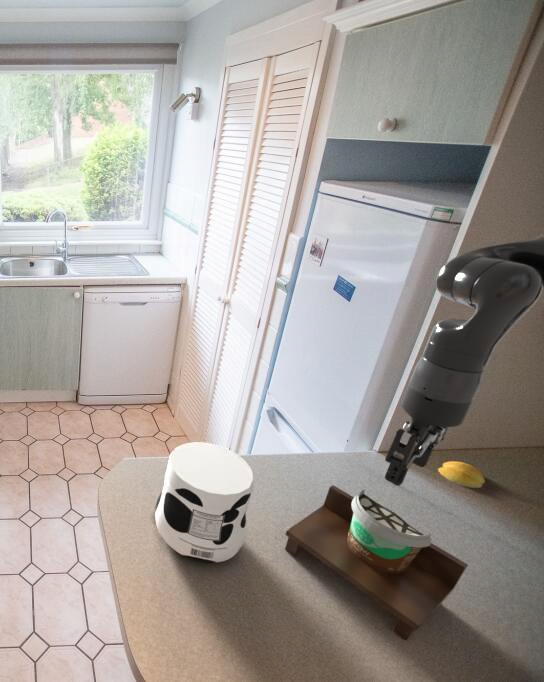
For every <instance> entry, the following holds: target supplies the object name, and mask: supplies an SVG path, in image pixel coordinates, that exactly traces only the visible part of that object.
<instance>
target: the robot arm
mask: <svg viewBox="0 0 544 682" xmlns="http://www.w3.org/2000/svg"><path fill="white" fill-rule="evenodd" d="M435 287H436V290H437V291H438V293H439V295H441V296H442V297H444V298H446V299H447V300H449V301H452V302H455V303H457V304H461V305H463V306H467V307H469V308H472V309H475V312H474V314H473V315H472V316H471V317H470V318H469V319H462V318H446V319H442V320H439V321H438V322H436V324H435V325H434V326H433V328H432V330H431V332H430V335H429V337H428V339H427V342H426V345H425V347H424V350H423V353H422V355H421V357H420V358H419V360H418V362H417V363H416V365H415V367H414V369H413V372H412V374H411V377H410V380H409V382H408V384H407V388H406V390H405V392H404V394H403V398H402V400H401V402H400V406H401V409H402V410H403V411H404V412H405V413H406V414H407V415H408V416H409V417H410V418H411V420H410V421H409V420H407V421H406V422H405V423H404V425H403V426H402V428H398V430H396V431H395V433H396V434H395V435H394V438H393V441H392V443H391V445H390V448H389V450H388V453H387V454H386V456H385V459H384V460H385V462H387V463H388V464H389V466H388V468H387V470H386V473H385V475H384V479H385V480H386V481H387V482H388V483H391V484H393V485H395V486H397V487H398V486H401V485H402V484H403V483H404V481H405V478H406V476H407V475H408V474H407V473H408V471H409V469H410V468H411V467H412V464H414V465H416V466H418V467H420V468H424V467H425V466H427V465H428V462H429V460H430V458H431V456H432V453H433V451H434V450H435V449H436V448H438V447H439V443H442V442H443V441H444V440H445V436H446V434H447V432H448V429H449V428H455V427H458V426H460V425H462V424H463V423H464V422H465V419H466V417H467V414H469V413H468V412H469V411H470V408H471V406H472V404H473V402H474V399H476V395H477V393H478V392H479V389H480V386H481V385H482V382H483V376H484V373H485V370H486V369H487V366H488V364H489V361H490V360H491V358H492V355H493V354H494V351H495V349H496V347H497V346H498V344H499V343H500V342H501V340H502V339H503V338H504V337H505V336H506V335H507V334H508V333H509V332H510V331H511V330H512V328H514V326H515V325H516V324H517V323H518V322H519V321H520V320H521V319H522V318H523V317H524V316H525V315H526V314H527V313H528V312H529V311H530V310H531V309H532V307H534V306H535V304H536V303H537V302H538V300H539V299H540V297H541V295H542V292H543V288H544V233H543V234H541V235H537V236H536V237H533V238H530V239H526V240H519V241H511V242H505V243H500V244H495V245H490V246H483V247H480V248H479V247H478V248H475V249H472V250H468V251H465V252H463V253H461V254H459V255H457V256H455V257H453V258H451V259H450V260H449V261H447V262H446V263H445V264H444V265H443V266H442V267H441V268H440V270H439V271H438V273H437V275H436V278H435ZM400 455H402V456H403V457H402V456H400Z"/></svg>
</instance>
